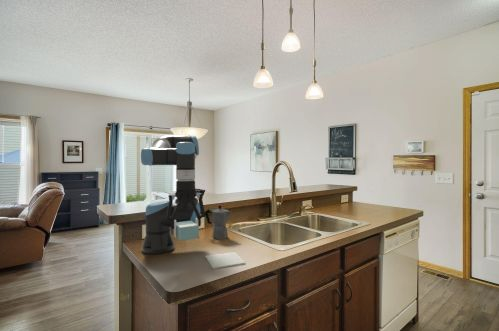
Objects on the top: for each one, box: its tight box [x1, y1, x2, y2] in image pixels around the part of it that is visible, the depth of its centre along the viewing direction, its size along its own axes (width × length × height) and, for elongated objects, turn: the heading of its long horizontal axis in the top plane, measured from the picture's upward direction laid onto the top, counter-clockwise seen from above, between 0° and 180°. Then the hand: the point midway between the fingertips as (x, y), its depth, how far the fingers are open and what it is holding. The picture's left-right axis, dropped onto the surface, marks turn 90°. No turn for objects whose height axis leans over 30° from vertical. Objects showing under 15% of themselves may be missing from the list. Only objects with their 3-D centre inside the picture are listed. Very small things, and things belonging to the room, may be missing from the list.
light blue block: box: [175, 221, 200, 242], centre depth 109 cm, size 10×8×5 cm
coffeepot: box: [205, 205, 232, 240], centre depth 153 cm, size 15×9×18 cm, turn 82°
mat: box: [205, 251, 246, 270], centre depth 117 cm, size 14×14×1 cm
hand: (186, 235), depth 109 cm, fingers closed on light blue block, 8 cm apart
